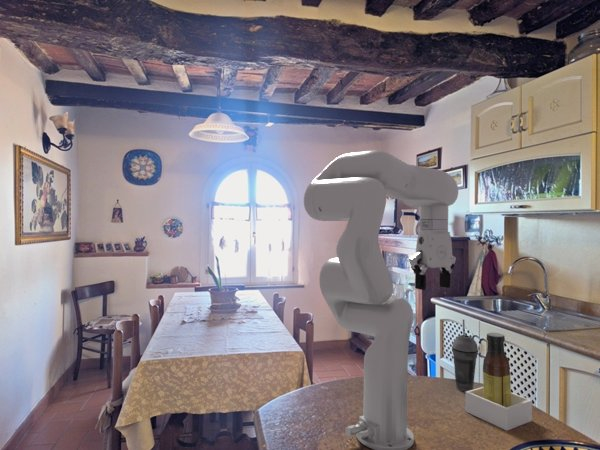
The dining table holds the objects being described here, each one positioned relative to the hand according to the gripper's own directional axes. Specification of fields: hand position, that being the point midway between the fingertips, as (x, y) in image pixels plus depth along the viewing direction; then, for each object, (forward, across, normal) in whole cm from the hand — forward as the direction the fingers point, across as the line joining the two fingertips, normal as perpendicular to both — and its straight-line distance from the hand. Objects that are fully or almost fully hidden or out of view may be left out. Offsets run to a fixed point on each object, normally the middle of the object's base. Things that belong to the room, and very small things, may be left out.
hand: (432, 288), depth 110 cm
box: (+30, +6, -15) cm, 35 cm away
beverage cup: (+31, +14, 0) cm, 34 cm away
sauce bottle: (+30, +6, -15) cm, 34 cm away
